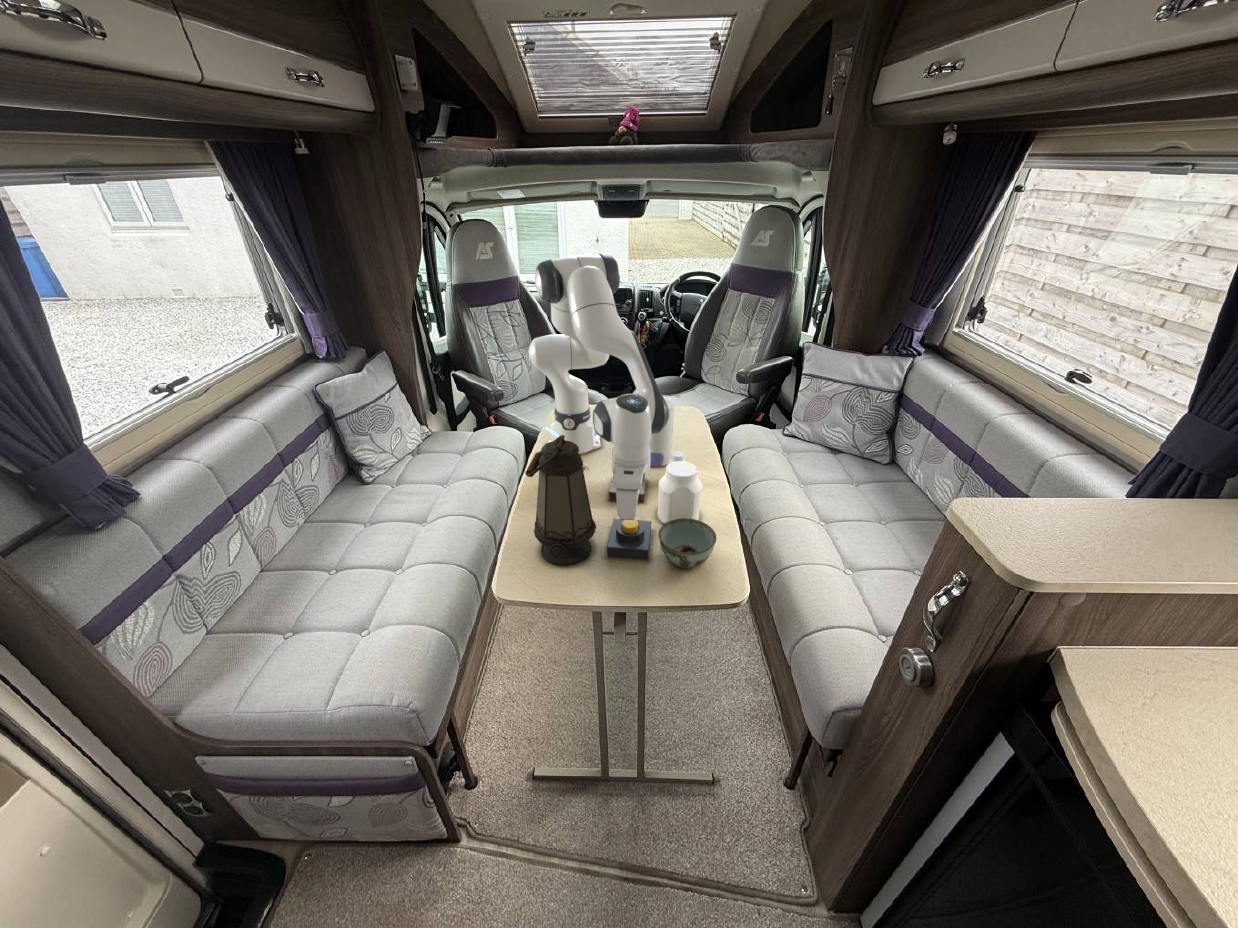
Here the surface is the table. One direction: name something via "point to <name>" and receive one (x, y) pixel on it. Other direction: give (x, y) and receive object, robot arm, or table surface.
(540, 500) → the lantern
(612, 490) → the dial panel
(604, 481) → the table surface
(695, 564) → the bowl
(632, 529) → the cylinder
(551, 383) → the robot arm
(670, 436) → the container
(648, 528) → the trigger housing
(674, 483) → the jar
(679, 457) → the supplement bottle
